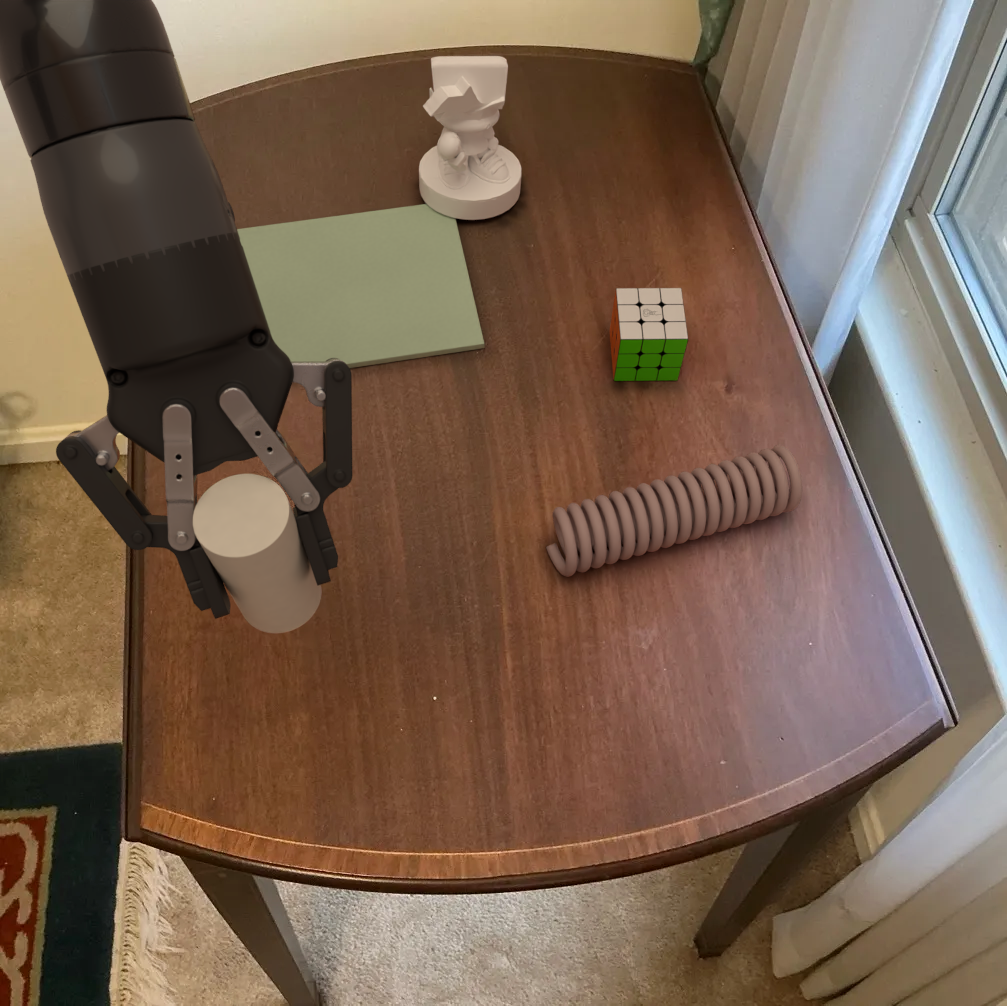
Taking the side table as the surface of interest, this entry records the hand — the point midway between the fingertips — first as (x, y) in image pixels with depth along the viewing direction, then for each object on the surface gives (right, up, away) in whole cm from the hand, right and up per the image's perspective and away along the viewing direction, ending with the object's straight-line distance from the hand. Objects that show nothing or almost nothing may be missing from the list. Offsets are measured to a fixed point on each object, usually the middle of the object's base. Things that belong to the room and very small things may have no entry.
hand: (273, 593), depth 47 cm
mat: (-1, +22, +31) cm, 38 cm away
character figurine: (+8, +32, +37) cm, 50 cm away
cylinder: (-1, 0, +4) cm, 4 cm away
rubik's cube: (+22, +16, +28) cm, 39 cm away
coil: (+23, +3, +20) cm, 31 cm away
